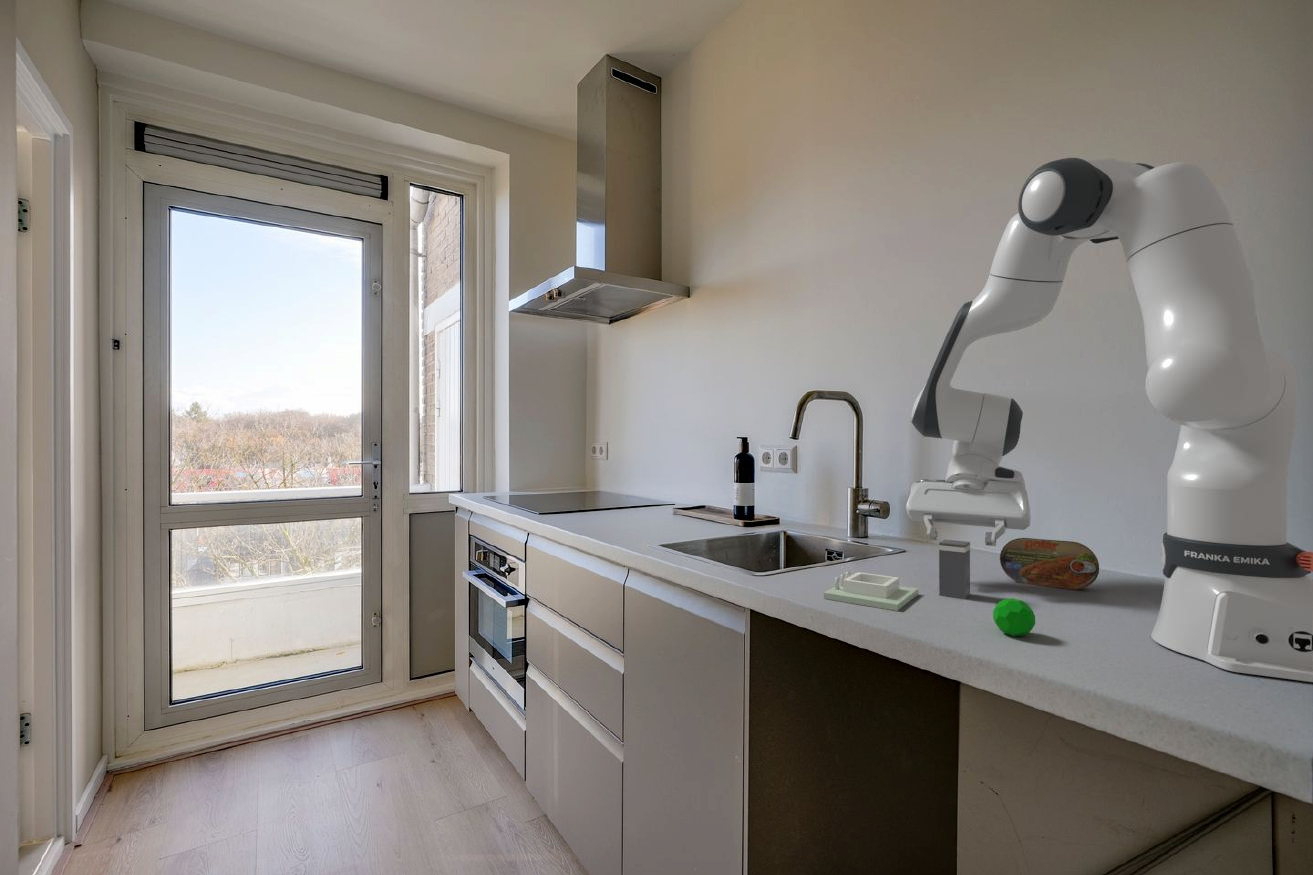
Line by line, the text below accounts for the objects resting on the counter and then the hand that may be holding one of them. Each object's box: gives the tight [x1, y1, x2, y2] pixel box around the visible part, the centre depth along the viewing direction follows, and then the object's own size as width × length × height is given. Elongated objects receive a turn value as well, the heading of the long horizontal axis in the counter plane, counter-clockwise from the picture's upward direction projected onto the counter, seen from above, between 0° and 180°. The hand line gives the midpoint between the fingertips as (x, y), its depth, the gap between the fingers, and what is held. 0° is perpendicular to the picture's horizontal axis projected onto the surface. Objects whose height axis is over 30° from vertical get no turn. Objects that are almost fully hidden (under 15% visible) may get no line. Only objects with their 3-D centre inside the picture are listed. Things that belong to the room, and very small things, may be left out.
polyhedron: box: [992, 598, 1036, 637], centre depth 83 cm, size 5×5×5 cm
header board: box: [823, 571, 919, 612], centre depth 103 cm, size 12×12×3 cm
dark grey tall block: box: [938, 539, 971, 600], centre depth 103 cm, size 4×4×9 cm
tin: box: [999, 537, 1100, 591], centre depth 109 cm, size 15×3×8 cm, turn 51°
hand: (959, 540), depth 107 cm, fingers open, 8 cm apart
